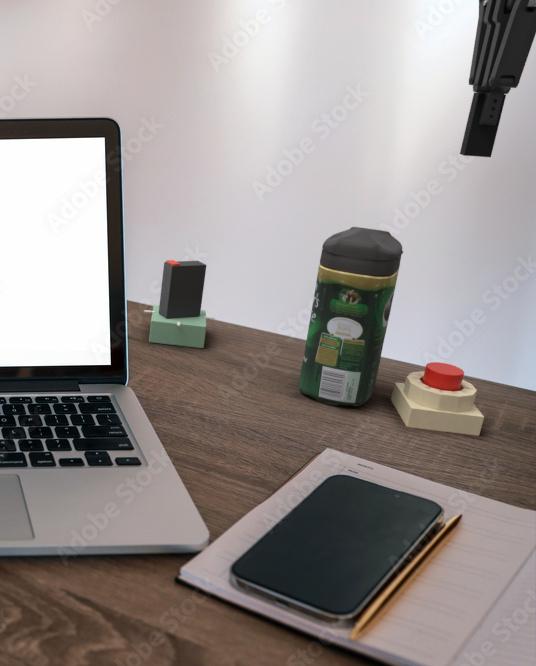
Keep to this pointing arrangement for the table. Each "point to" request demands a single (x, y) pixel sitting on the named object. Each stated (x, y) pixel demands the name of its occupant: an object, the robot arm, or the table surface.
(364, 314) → the coffee jar
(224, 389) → the table surface
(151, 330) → the dial panel
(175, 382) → the table surface
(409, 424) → the button housing
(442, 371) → the button
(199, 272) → the black box red top
